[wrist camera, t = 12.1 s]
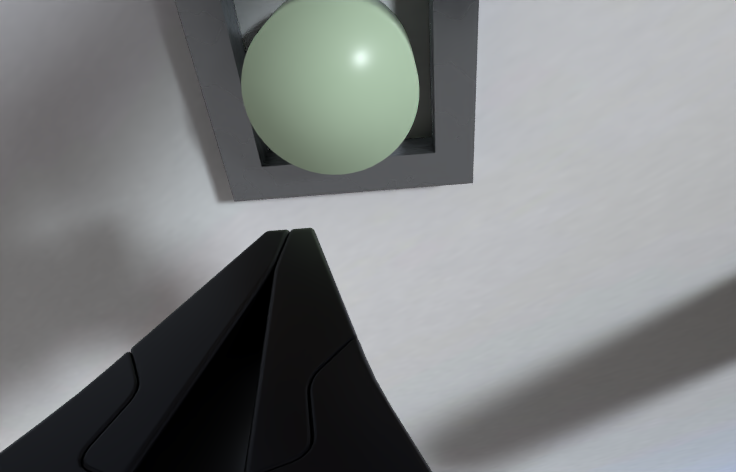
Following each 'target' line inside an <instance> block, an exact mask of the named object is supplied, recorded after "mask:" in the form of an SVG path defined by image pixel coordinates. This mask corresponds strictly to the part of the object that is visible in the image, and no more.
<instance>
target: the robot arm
mask: <svg viewBox="0 0 736 472" xmlns="http://www.w3.org/2000/svg"><path fill="white" fill-rule="evenodd" d="M0 472H432V471H431V469H430V468H429V466H428V465H427V463H426V461H425V460H424V458H423V457H422V455H421V453H420V452H419V450H418V449H417V447H416V445H415V444H414V442H413V441H412V439H411V437H410V436H409V434H408V433H407V431H406V429H405V428H404V426H403V425H402V423H401V421H400V420H399V418H398V417H397V415H396V413H395V412H394V410H393V409H392V407H391V405H390V404H389V402H388V400H387V398H386V396H385V395H384V393H383V391H382V389H381V388H380V386H379V384H378V382H377V380H376V379H375V376H374V374H373V372H372V370H371V368H370V365H369V363H368V361H367V359H366V357H365V354H364V352H363V349H362V347H361V344H360V342H359V340H358V338H357V335H356V333H355V330H354V328H353V325H352V323H351V320H350V318H349V315H348V313H347V310H346V308H345V305H344V303H343V300H342V298H341V295H340V293H339V290H338V288H337V286H336V283H335V281H334V278H333V276H332V273H331V271H330V268H329V266H328V263H327V261H326V258H325V256H324V253H323V251H322V248H321V246H320V243H319V241H318V238H317V236H316V234H315V231H314V230H313V229H312V228H302V229H293V230H291V231H290V232H289V231H288V230H276V231H267V232H266V233H264V234H263V235H262V236H261V237H260V238H258V239H257V240H256V241H255V242H254V243H253V244H251V245H250V246H249V247H248V248H247V249H246V250H245V251H243V252H242V253H241V254H240V255H239V256H238V257H236V258H235V259H234V260H233V261H232V262H231V263H230V264H228V265H227V266H226V267H225V268H224V269H223V270H221V271H220V272H219V273H218V274H217V275H216V276H215V277H213V278H212V279H211V280H210V281H209V282H208V283H206V284H205V285H204V286H203V287H202V288H201V289H200V290H198V291H197V292H196V293H195V294H194V295H193V296H191V297H190V298H189V299H188V300H187V301H186V302H185V303H183V304H182V305H181V306H180V307H179V308H178V309H176V310H175V311H174V312H173V313H172V314H171V315H170V316H168V317H167V318H166V319H165V320H164V321H163V322H161V323H160V324H159V325H158V326H157V327H156V328H155V329H153V330H152V331H151V332H150V333H149V334H148V335H146V336H145V337H144V338H143V339H142V340H141V341H139V342H138V343H137V344H136V345H135V346H134V347H133V348H132V349H131V352H127V353H125V354H124V355H123V356H122V357H121V358H120V359H118V360H117V361H116V362H115V363H114V364H113V365H112V366H110V367H109V368H108V369H107V370H106V371H104V372H103V373H102V374H101V375H100V376H98V377H97V378H96V379H95V380H94V381H92V382H91V383H90V384H89V385H88V386H86V387H85V388H84V389H83V390H82V391H80V392H79V393H78V394H77V395H75V396H74V397H73V398H72V399H70V400H69V401H68V402H66V403H65V404H64V405H63V406H61V407H60V408H59V409H57V410H56V411H55V412H54V413H52V414H51V415H50V416H48V417H47V418H46V419H45V420H43V421H42V422H41V423H39V424H38V425H37V426H35V427H34V428H33V429H31V430H30V431H29V432H27V433H26V434H25V435H23V436H22V437H21V438H19V439H18V440H17V441H15V442H14V443H13V444H11V445H10V446H9V447H7V448H6V449H5V450H3V451H2V452H1V453H0Z"/></svg>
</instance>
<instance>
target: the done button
mask: <svg viewBox="0 0 736 472" xmlns="http://www.w3.org/2000/svg"><path fill="white" fill-rule="evenodd" d="M241 88H242V97H243V102H244V106H245V109H246V112H247V115H248V118H249V120H250V122H251V124H252V126H253V128H254V129H255V131H256V132H257V134H258V135H259V137H260V138H261V139H262V140H263V142H264V143H265V144H266V145H267V146H268V147H269V148H270V149H271V150H272V151H273V152H274V153H276V154H277V155H278V156H280V157H281V158H282V159H284V160H286V161H287V162H289V163H290V164H293V165H295V166H297V167H299V168H301V169H304V170H307V171H310V172H315V173H320V174H329V175H342V174H349V173H354V172H358V171H362V170H365V169H367V168H370V167H372V166H374V165H376V164H377V163H379V162H381V161H382V160H384V159H385V158H387V157H388V156H389V155H390V154H391V153H393V152H394V151H395V150H396V149H397V148H398V147H399V145H400V144H401V143H402V142H403V140H404V139H405V137H406V136H407V134H408V133H409V131H410V129H411V127H412V124H413V122H414V119H415V116H416V113H417V108H418V102H419V80H418V74H417V69H416V65H415V61H414V56H413V52H412V48H411V44H410V41H409V38H408V36H407V33H406V31H405V30H404V28H403V26H402V24H401V23H400V21H399V20H398V18H397V17H396V16H395V14H394V13H393V12H392V11H391V10H390V9H389V8H388V7H387V6H386V5H385V4H383V3H382V2H381V1H380V0H286V1H285V2H284V3H283V4H282V5H281V6H280V7H279V8H278V9H277V10H276V11H275V12H274V13H273V14H272V16H271V17H270V18H269V19H268V20H267V22H266V23H265V24H264V25H263V27H262V28H261V29H260V30H259V32H258V33H257V34H256V36H255V37H254V39H253V41H252V42H251V44H250V46H249V48H248V51H247V53H246V56H245V59H244V64H243V68H242V77H241Z"/></svg>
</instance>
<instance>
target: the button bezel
mask: <svg viewBox="0 0 736 472" xmlns="http://www.w3.org/2000/svg"><path fill="white" fill-rule="evenodd" d="M175 3H176V6H177V10H178V13H179V16H180V20H181V23H182V26H183V30H184V33H185V36H186V40H187V43H188V46H189V50H190V53H191V57H192V60H193V63H194V67H195V70H196V73H197V77H198V80H199V83H200V87H201V90H202V93H203V97H204V100H205V103H206V107H207V110H208V113H209V117H210V120H211V123H212V127H213V130H214V133H215V137H216V140H217V143H218V147H219V150H220V154H221V157H222V160H223V164H224V167H225V170H226V174H227V177H228V180H229V184H230V187H231V190H232V194H233V197H234V200H235V201H247V200H260V199H273V198H286V197H299V196H311V195H324V194H337V193H350V192H363V191H376V190H389V189H402V188H415V187H428V186H441V185H454V184H467V183H473V161H474V131H475V101H476V70H477V40H478V10H479V0H429V23H430V70H431V117H432V137H426V138H414V139H404V140H403V142H402V143H401V144H400V145H399V147H398V148H397V149H396V150H395V151H394V152H393V153H391V154H390V155H389V156H388V157H387V158H385V159H384V160H382V161H381V162H379V163H377V164H376V165H374V166H372V167H370V168H367V169H365V170H362V171H358V172H354V173H349V174H342V175H329V174H320V173H315V172H310V171H307V170H304V169H301V168H299V167H297V166H295V165H293V164H290V163H289V162H287V161H286V160H284V159H282V158H281V157H280V156H278V155H277V154H276V153H274V152H273V151H272V150H271V151H268V147H267V145H266V144H265V143H264V142H263V140H262V139H261V138H260V137H259V135H258V134H257V132H256V131H255V129H254V128H253V126H252V124H251V122H250V120H249V118H248V115H247V112H246V109H245V106H244V102H243V97H242V88H241V77H242V68H243V64H244V59H245V56H246V54H245V50H244V45H243V41H242V37H241V33H240V28H239V24H238V20H237V16H236V11H235V7H234V3H233V0H175Z"/></svg>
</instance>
